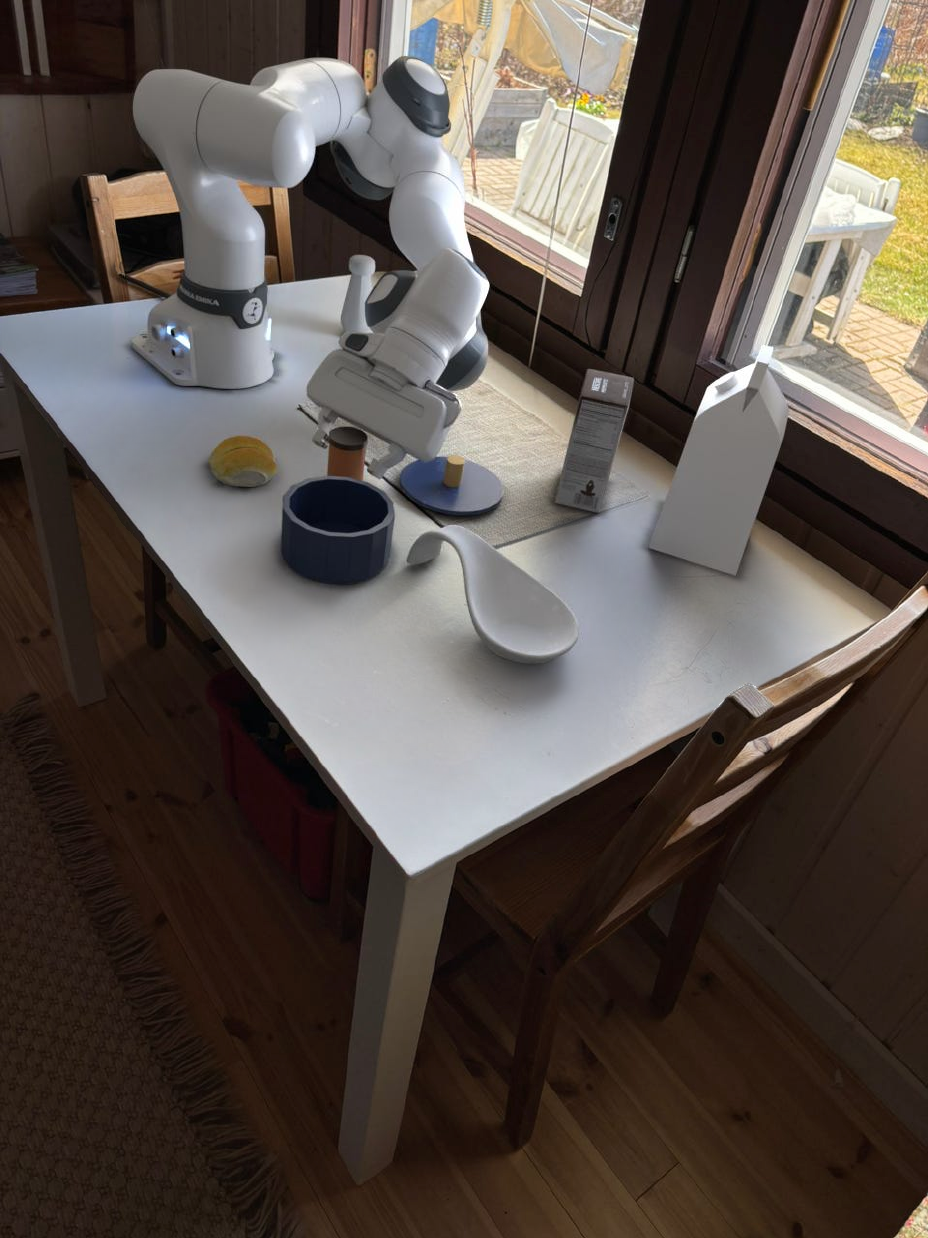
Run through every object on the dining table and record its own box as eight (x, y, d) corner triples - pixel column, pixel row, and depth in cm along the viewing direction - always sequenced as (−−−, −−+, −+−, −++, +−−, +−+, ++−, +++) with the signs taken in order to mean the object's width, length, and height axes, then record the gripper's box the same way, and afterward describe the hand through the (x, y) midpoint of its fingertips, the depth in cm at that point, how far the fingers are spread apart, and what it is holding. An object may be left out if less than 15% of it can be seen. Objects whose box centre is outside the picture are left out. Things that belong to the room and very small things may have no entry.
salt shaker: (339, 325, 164) (344, 248, 156) (372, 328, 165) (379, 252, 157) (339, 339, 159) (345, 261, 151) (373, 342, 160) (381, 265, 152)
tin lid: (377, 486, 125) (381, 454, 122) (443, 453, 134) (447, 423, 131) (459, 531, 119) (465, 500, 116) (522, 494, 129) (528, 464, 126)
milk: (735, 575, 121) (811, 386, 105) (648, 547, 123) (709, 357, 107) (746, 530, 130) (818, 350, 114) (664, 505, 132) (724, 324, 116)
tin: (258, 548, 110) (258, 500, 106) (333, 510, 119) (337, 464, 115) (337, 599, 105) (341, 550, 101) (410, 555, 114) (417, 509, 110)
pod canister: (317, 487, 122) (320, 433, 118) (343, 475, 126) (347, 422, 121) (344, 503, 120) (349, 449, 116) (370, 490, 124) (375, 437, 119)
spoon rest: (593, 656, 104) (609, 605, 100) (515, 695, 97) (529, 642, 93) (456, 546, 117) (464, 496, 112) (378, 573, 110) (384, 522, 105)
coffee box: (561, 471, 135) (587, 365, 125) (605, 482, 135) (635, 376, 125) (553, 503, 128) (580, 394, 118) (600, 514, 127) (630, 405, 118)
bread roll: (269, 452, 127) (270, 425, 125) (279, 488, 121) (280, 460, 118) (206, 453, 125) (205, 426, 122) (212, 489, 118) (212, 461, 116)
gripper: (476, 410, 119) (417, 503, 119) (355, 351, 127) (300, 438, 127) (459, 387, 113) (397, 484, 113) (334, 327, 122) (276, 418, 121)
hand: (345, 459), depth 120 cm, fingers open, 8 cm apart
